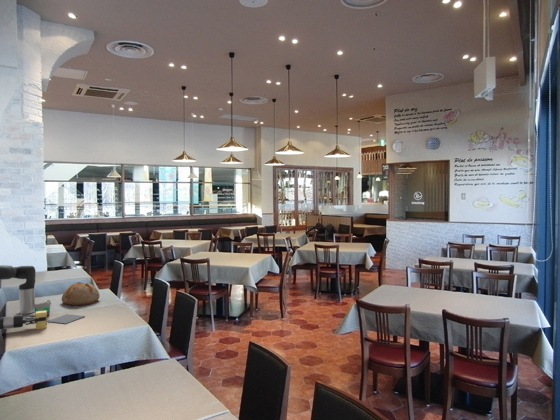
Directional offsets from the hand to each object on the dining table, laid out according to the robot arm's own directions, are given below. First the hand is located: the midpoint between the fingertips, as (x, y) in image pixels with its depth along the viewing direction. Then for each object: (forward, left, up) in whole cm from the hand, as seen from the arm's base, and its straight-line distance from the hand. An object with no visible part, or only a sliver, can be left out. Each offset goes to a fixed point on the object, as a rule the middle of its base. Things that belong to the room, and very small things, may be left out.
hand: (46, 317), depth 241 cm
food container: (-24, +9, -6) cm, 26 cm away
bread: (-43, +41, -6) cm, 60 cm away
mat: (-6, +15, -6) cm, 17 cm away
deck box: (-1, -2, -6) cm, 7 cm away
